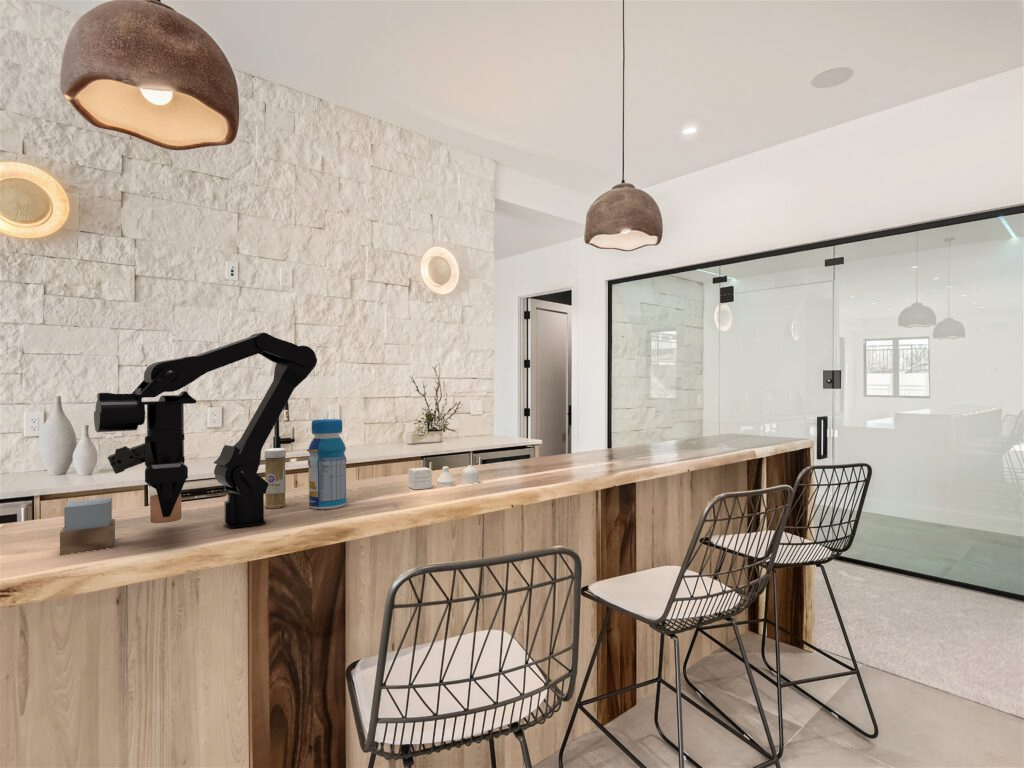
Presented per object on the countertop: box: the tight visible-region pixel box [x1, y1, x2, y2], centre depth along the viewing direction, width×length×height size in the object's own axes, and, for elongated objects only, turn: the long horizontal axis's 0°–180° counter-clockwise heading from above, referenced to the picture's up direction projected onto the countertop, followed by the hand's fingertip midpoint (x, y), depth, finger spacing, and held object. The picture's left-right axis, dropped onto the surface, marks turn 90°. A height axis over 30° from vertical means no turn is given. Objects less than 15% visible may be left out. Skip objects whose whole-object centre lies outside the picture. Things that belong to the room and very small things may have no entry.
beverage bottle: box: [307, 418, 348, 511], centre depth 125 cm, size 8×8×20 cm
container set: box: [408, 464, 480, 490], centre depth 151 cm, size 20×5×6 cm, turn 118°
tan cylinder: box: [149, 492, 182, 524], centre depth 100 cm, size 5×5×4 cm
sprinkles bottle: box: [264, 447, 287, 509], centre depth 126 cm, size 5×5×14 cm
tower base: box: [59, 518, 116, 556], centre depth 95 cm, size 7×7×4 cm
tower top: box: [63, 497, 113, 531], centre depth 95 cm, size 6×6×4 cm
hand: (166, 514), depth 100 cm, fingers closed on tan cylinder, 5 cm apart
